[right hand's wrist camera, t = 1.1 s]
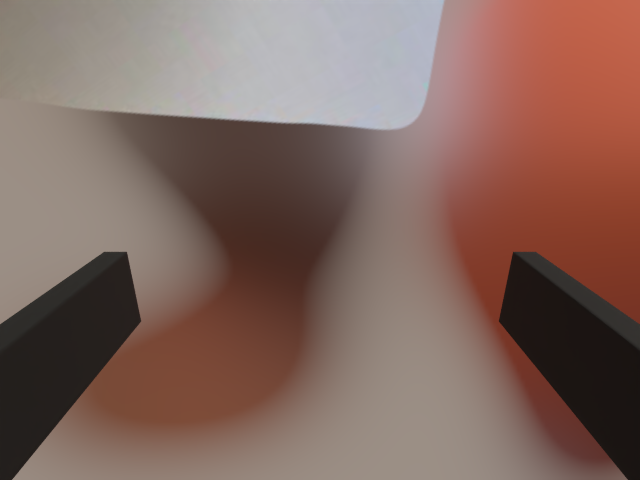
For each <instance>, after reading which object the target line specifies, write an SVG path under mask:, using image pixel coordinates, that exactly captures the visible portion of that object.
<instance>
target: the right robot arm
mask: <svg viewBox="0 0 640 480" xmlns="http://www.w3.org/2000/svg"><path fill="white" fill-rule="evenodd" d="M140 322H141V318H140V314H139V309H138V304H137V299H136V294H135V289H134V284H133V280H132V275H131V270H130V265H129V260H128V255H127V252H103V253H102V254H101V255H99V256H98V257H96V258H95V259H93V260H92V261H91V262H89V263H88V264H86V265H85V266H83V267H82V268H81V269H79V270H78V271H76V272H75V273H73V274H72V275H70V276H69V277H68V278H66V279H65V280H63V281H62V282H60V283H59V284H58V285H56V286H55V287H53V288H52V289H50V290H49V291H48V292H46V293H45V294H43V295H42V296H40V297H39V298H38V299H36V300H35V301H33V302H32V303H30V304H29V305H27V306H26V307H25V308H23V309H22V310H20V311H19V312H17V313H16V314H14V315H13V316H12V317H10V318H9V319H7V320H6V321H4V322H3V323H2V324H0V480H12V479H13V478H14V477H15V475H16V474H17V473H18V472H19V470H20V469H21V468H22V467H23V466H24V464H25V463H26V462H27V461H28V459H29V458H30V457H31V456H32V455H33V453H34V452H35V451H36V450H37V448H38V447H39V446H40V445H41V443H42V442H43V441H44V440H45V439H46V437H47V436H48V435H49V434H50V432H51V431H52V430H53V429H54V428H55V426H56V425H57V424H58V423H59V421H60V420H61V419H62V418H63V416H64V415H65V414H66V413H67V412H68V410H69V409H70V408H71V407H72V405H73V404H74V403H75V402H76V401H77V399H78V398H79V397H80V396H81V394H82V393H83V392H84V391H85V389H86V388H87V387H88V386H89V385H90V383H91V382H92V381H93V380H94V378H95V377H96V376H97V375H98V374H99V372H100V371H101V370H102V369H103V367H104V366H105V365H106V364H107V363H108V361H109V360H110V359H111V358H112V356H113V355H114V354H115V353H116V351H117V350H118V349H119V348H120V347H121V345H122V344H123V343H124V342H125V340H126V339H127V338H128V337H129V335H130V334H131V333H132V332H133V331H134V329H135V328H136V327H137V326H138V324H139V323H140ZM499 322H500V323H501V324H502V326H503V327H504V328H505V329H506V331H507V332H508V333H509V334H510V336H511V337H512V338H513V339H514V340H515V342H516V343H517V344H518V345H519V347H520V348H521V349H522V350H523V351H524V353H525V354H526V355H527V356H528V358H529V359H530V360H531V361H532V362H533V364H534V365H535V366H536V367H537V369H538V370H539V371H540V372H541V374H542V375H543V376H544V377H545V378H546V380H547V381H548V382H549V383H550V385H551V386H552V387H553V388H554V390H555V391H556V392H557V393H558V394H559V396H560V397H561V398H562V399H563V401H564V402H565V403H566V404H567V405H568V407H569V408H570V409H571V410H572V412H573V413H574V414H575V415H576V417H577V418H578V419H579V420H580V421H581V423H582V424H583V425H584V426H585V428H586V429H587V430H588V431H589V432H590V434H591V435H592V436H593V437H594V439H595V440H596V441H597V442H598V444H599V445H600V446H601V447H602V448H603V450H604V451H605V452H606V453H607V455H608V456H609V457H610V458H611V459H612V461H613V462H614V463H615V464H616V466H617V467H618V468H619V469H620V471H621V472H622V473H623V474H624V475H625V477H626V478H627V479H628V480H640V324H638V323H637V322H636V321H634V320H633V319H631V318H630V317H628V316H627V315H626V314H624V313H623V312H621V311H620V310H618V309H617V308H615V307H614V306H613V305H611V304H610V303H608V302H607V301H605V300H604V299H603V298H601V297H600V296H598V295H597V294H595V293H594V292H593V291H591V290H590V289H588V288H587V287H585V286H584V285H582V284H581V283H580V282H578V281H577V280H575V279H574V278H572V277H571V276H570V275H568V274H567V273H565V272H564V271H562V270H561V269H559V268H558V267H557V266H555V265H554V264H552V263H551V262H549V261H548V260H547V259H545V258H544V257H542V256H541V255H539V254H538V253H537V252H513V255H512V260H511V265H510V270H509V275H508V280H507V285H506V289H505V294H504V299H503V304H502V309H501V314H500V319H499Z"/></svg>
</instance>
